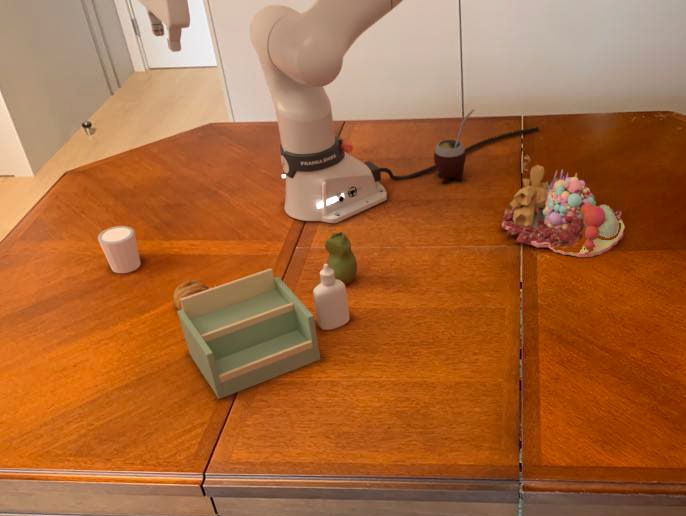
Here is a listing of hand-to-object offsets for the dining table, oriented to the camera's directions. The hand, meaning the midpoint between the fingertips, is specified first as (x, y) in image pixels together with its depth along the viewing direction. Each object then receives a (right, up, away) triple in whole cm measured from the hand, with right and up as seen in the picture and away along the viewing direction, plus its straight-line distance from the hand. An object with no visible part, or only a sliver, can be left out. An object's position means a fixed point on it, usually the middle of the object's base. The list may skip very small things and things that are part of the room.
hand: (166, 42), depth 140 cm
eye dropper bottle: (+29, -49, +3) cm, 57 cm away
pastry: (+3, -45, +8) cm, 46 cm away
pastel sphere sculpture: (+73, -26, +25) cm, 82 cm away
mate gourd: (+51, -12, +43) cm, 68 cm away
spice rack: (+16, -55, -4) cm, 57 cm away
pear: (+29, -40, +13) cm, 51 cm away
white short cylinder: (-14, -36, +20) cm, 43 cm away
